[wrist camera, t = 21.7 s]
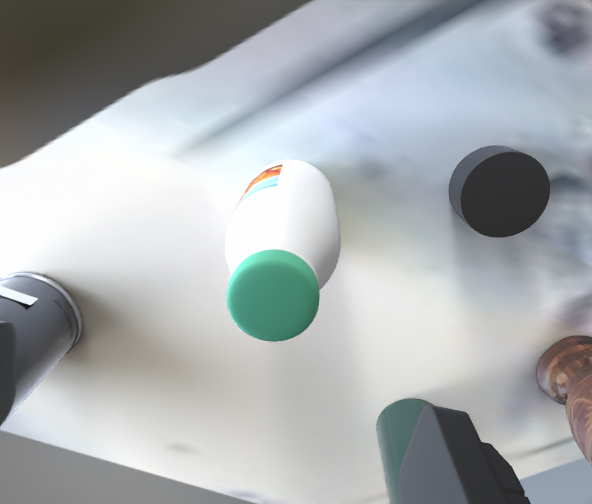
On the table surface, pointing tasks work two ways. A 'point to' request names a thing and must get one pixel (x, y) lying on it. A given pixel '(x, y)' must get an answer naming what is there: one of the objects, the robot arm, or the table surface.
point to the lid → (499, 191)
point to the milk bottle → (281, 250)
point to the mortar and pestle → (571, 385)
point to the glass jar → (396, 439)
